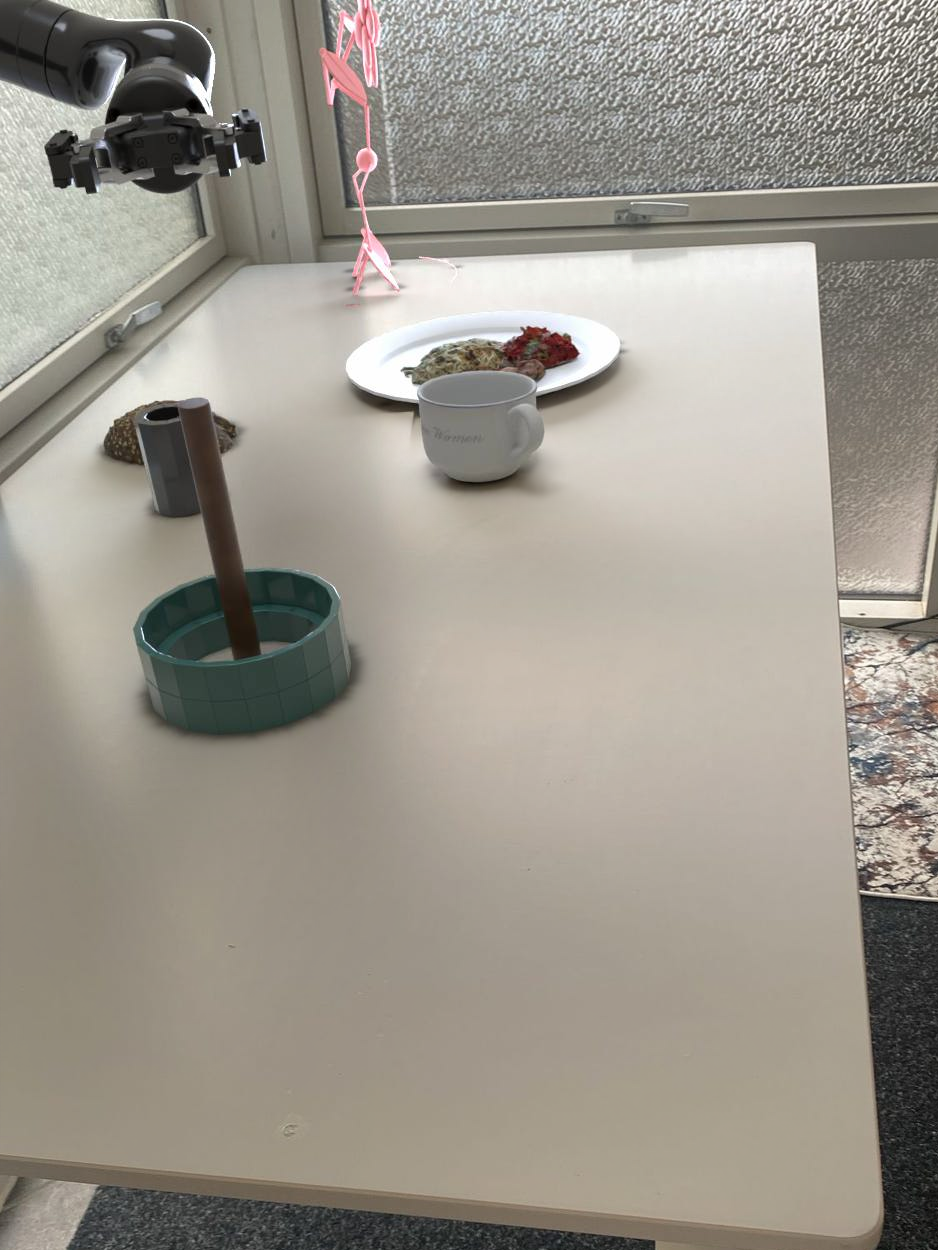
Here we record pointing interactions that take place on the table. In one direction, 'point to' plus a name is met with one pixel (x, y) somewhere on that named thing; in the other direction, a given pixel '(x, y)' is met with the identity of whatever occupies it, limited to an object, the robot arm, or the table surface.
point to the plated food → (484, 351)
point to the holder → (167, 460)
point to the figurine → (367, 39)
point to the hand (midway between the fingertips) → (154, 168)
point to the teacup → (479, 423)
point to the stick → (219, 525)
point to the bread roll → (126, 444)
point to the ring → (252, 685)
